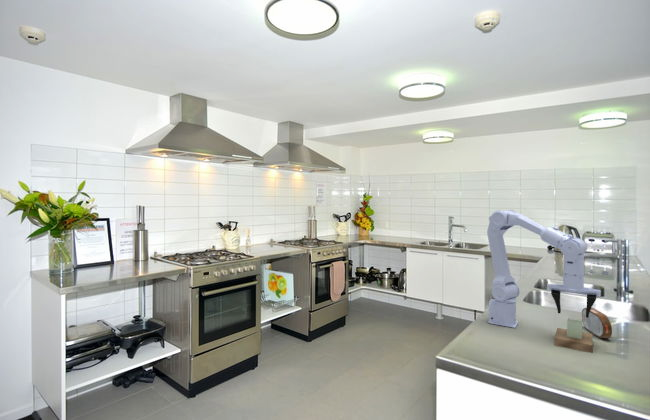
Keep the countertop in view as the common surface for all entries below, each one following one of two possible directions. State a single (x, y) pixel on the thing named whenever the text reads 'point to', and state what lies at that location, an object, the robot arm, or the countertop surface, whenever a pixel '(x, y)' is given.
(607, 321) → the tin
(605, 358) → the countertop surface
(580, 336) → the sage cube
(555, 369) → the countertop surface
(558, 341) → the walnut block
